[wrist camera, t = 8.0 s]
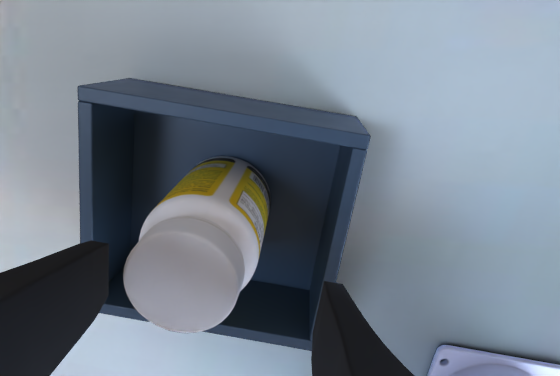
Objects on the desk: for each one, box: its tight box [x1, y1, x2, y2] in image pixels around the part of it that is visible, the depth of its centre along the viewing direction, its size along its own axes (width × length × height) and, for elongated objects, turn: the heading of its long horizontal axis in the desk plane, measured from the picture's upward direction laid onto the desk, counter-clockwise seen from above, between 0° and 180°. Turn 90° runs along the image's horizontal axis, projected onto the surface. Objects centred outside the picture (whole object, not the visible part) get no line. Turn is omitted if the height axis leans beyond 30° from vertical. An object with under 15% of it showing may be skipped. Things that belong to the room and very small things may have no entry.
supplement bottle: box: [123, 156, 271, 333], centre depth 17 cm, size 5×5×8 cm
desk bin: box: [78, 78, 370, 351], centre depth 19 cm, size 11×12×5 cm
